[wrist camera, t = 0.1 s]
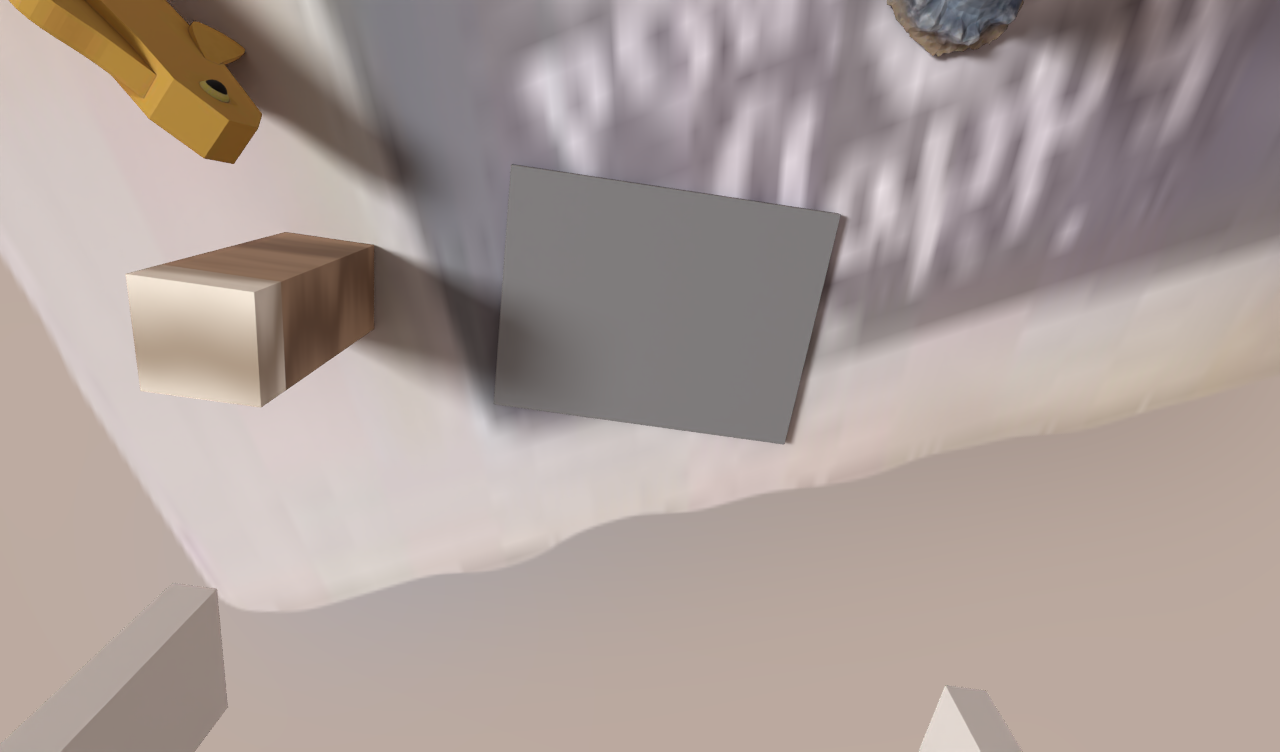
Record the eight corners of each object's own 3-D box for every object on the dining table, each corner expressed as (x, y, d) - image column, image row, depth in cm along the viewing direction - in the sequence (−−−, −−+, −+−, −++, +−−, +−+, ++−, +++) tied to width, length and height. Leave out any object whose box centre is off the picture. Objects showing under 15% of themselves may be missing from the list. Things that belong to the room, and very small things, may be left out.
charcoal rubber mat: (513, 164, 35) (511, 164, 35) (837, 213, 36) (840, 214, 36) (495, 400, 40) (493, 404, 40) (782, 440, 41) (784, 444, 40)
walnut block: (285, 232, 37) (125, 273, 26) (374, 245, 37) (253, 292, 26) (289, 316, 39) (140, 391, 27) (374, 328, 39) (261, 407, 28)
